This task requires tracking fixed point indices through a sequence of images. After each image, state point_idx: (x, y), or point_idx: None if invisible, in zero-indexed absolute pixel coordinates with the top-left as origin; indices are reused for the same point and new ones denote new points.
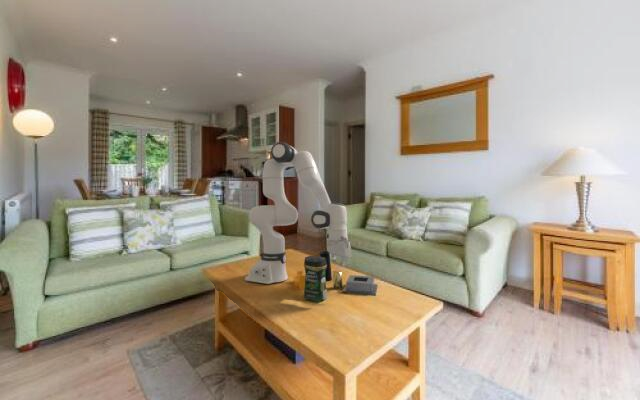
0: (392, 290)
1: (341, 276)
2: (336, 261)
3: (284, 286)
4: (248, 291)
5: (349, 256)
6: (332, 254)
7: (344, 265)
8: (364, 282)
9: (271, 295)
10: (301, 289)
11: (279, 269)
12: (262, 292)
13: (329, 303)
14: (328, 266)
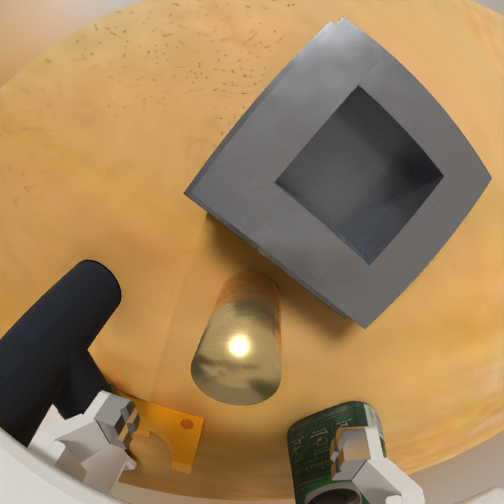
0: (432, 25)
1: (276, 339)
2: (126, 411)
3: (149, 440)
4: (176, 486)
5: (499, 500)
6: (81, 481)
7: (373, 437)
8: (451, 209)
9: (229, 478)
10: (202, 426)
11: (96, 471)
12: (194, 480)
13: (406, 398)
14: (66, 352)
